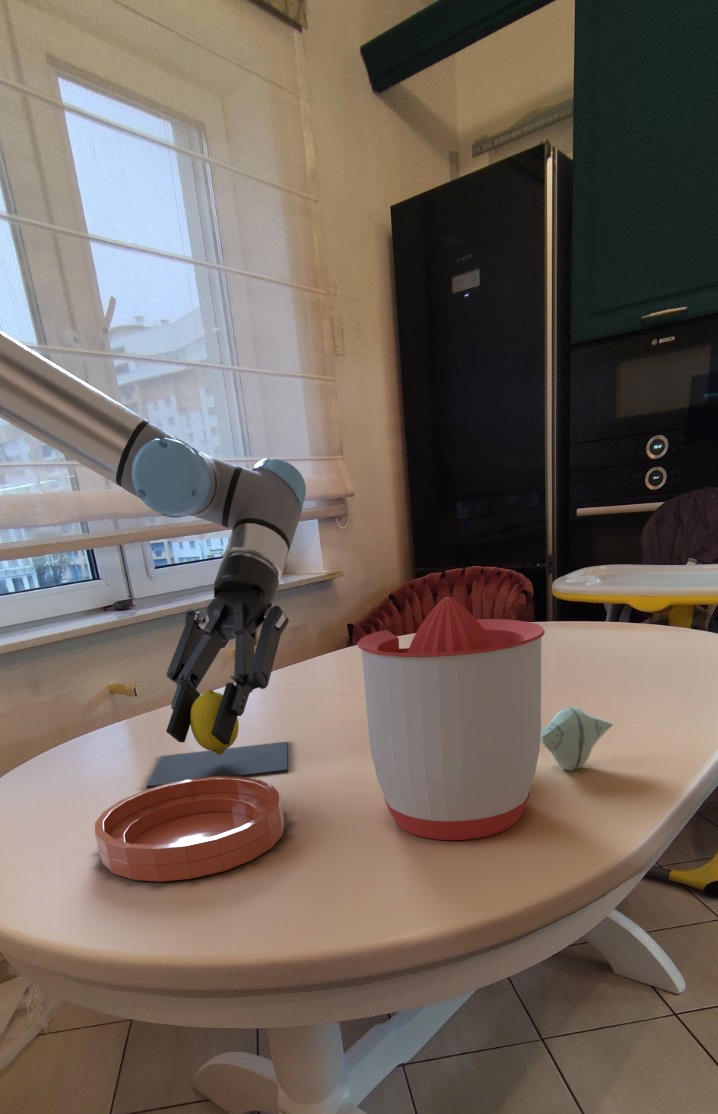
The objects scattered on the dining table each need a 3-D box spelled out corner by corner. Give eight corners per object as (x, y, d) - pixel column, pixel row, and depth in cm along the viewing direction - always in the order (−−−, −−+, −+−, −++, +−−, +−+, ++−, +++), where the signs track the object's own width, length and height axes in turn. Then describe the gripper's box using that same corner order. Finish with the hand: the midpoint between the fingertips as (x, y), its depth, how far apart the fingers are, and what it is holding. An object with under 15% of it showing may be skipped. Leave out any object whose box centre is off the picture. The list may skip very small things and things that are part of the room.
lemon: (246, 757, 85) (235, 690, 82) (198, 765, 84) (186, 698, 81) (239, 744, 90) (229, 681, 87) (195, 752, 89) (183, 688, 86)
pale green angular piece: (545, 783, 73) (545, 718, 71) (526, 770, 77) (526, 709, 74) (615, 769, 75) (618, 706, 72) (593, 758, 79) (595, 697, 76)
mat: (147, 791, 82) (146, 786, 82) (162, 760, 92) (161, 756, 92) (288, 774, 83) (287, 769, 83) (287, 746, 93) (286, 741, 93)
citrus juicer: (480, 771, 78) (475, 579, 71) (579, 829, 63) (586, 591, 55) (344, 801, 74) (323, 599, 66) (415, 871, 58) (397, 618, 51)
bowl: (65, 863, 66) (56, 828, 64) (198, 798, 78) (192, 768, 77) (192, 903, 57) (184, 864, 55) (320, 823, 69) (315, 789, 68)
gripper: (328, 587, 90) (282, 756, 82) (205, 594, 97) (152, 749, 90) (303, 546, 83) (250, 724, 76) (173, 556, 91) (113, 720, 83)
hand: (197, 737), depth 83 cm, fingers closed on lemon, 5 cm apart
